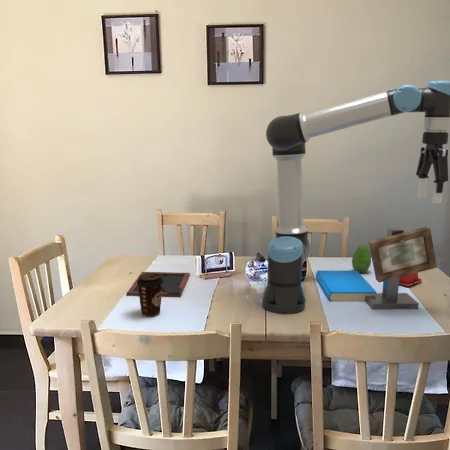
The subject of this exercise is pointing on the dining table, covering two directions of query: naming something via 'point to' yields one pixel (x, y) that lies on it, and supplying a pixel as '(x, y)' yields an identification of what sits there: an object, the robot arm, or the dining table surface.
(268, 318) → the dining table surface
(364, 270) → the avocado
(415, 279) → the butter dish
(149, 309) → the coffee cup
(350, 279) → the book
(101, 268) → the dining table surface
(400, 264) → the picture frame
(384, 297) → the frame stand
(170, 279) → the picture frame
